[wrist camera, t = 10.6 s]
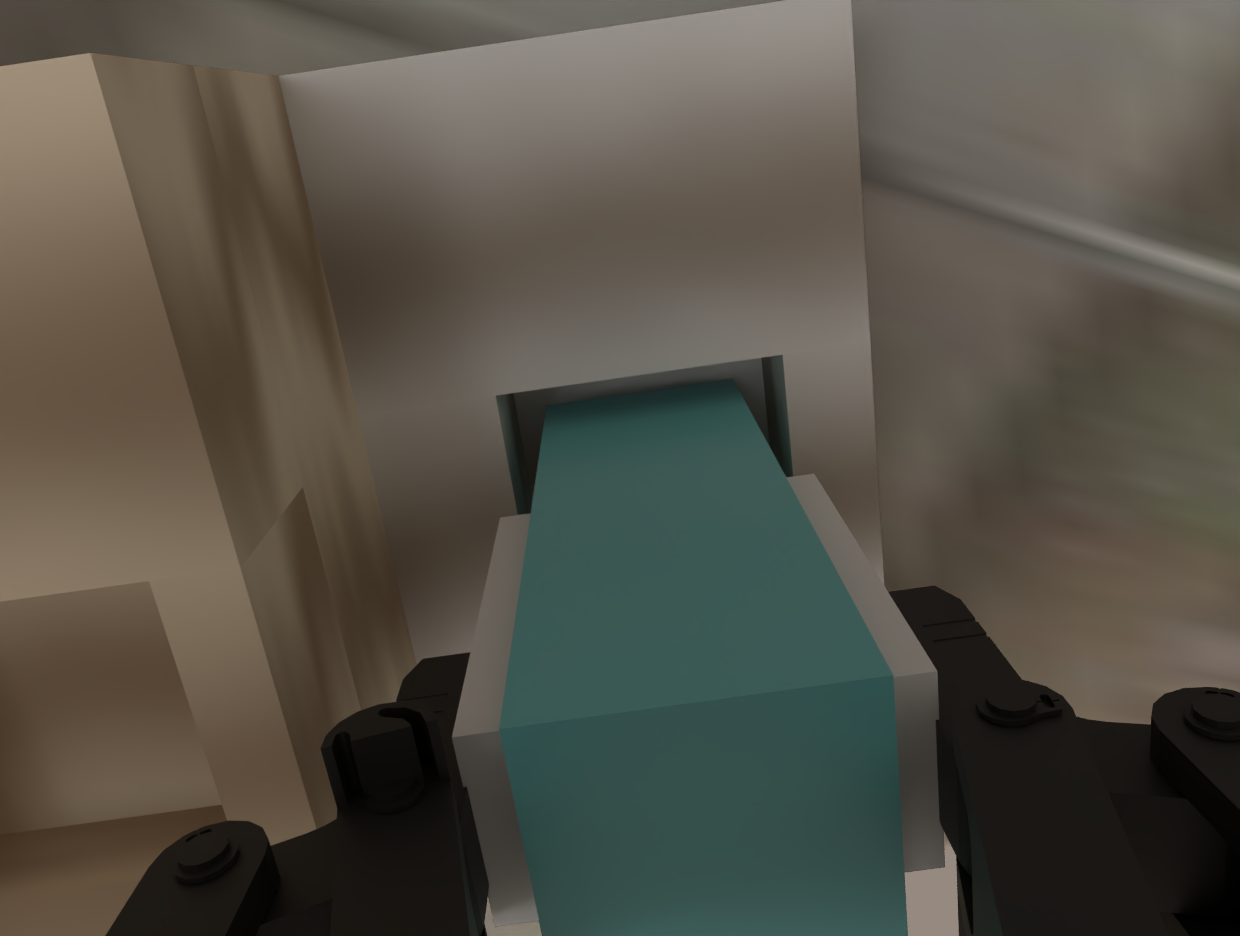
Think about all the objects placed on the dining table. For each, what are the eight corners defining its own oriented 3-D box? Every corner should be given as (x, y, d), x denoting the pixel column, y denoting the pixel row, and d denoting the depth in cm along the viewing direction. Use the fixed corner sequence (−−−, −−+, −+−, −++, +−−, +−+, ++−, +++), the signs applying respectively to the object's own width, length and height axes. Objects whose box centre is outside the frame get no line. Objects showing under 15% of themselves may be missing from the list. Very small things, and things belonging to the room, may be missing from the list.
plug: (546, 405, 22) (499, 728, 10) (733, 378, 21) (893, 675, 10) (579, 601, 23) (571, 1071, 12) (753, 577, 23) (913, 1027, 12)
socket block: (-37, 137, 21) (-623, 159, 11) (803, 12, 21) (1010, -86, 11) (196, 827, 27) (-42, 1262, 17) (855, 739, 27) (1020, 1126, 17)
